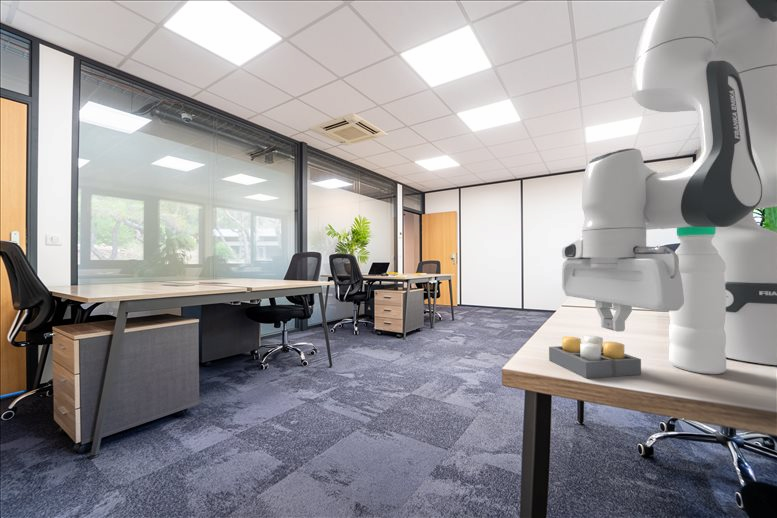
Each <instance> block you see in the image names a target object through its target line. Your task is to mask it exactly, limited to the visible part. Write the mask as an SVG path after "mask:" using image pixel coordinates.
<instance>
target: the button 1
mask: <svg viewBox="0 0 777 518" xmlns="http://www.w3.org/2000/svg"><path fill="white" fill-rule="evenodd" d="M561 343H562V344H561V346H562V350H563V351H566V352H568V353H579V352H580V344H581V343H582V339H581V338H579V337H574V336H562V337H561Z"/></svg>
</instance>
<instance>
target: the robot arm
mask: <svg viewBox="0 0 777 518" xmlns="http://www.w3.org/2000/svg"><path fill="white" fill-rule="evenodd" d="M643 26H644V27H643V29H642V32H641V34H640V37H639V41H638V44H637V48H636V52H635V56H634V62H633V68H632V74H631V80H630V88H631V95H632V97H633V99H634V101H635V102H636V103H637V104H638V105H640V106H641V107H643V108H645V109H648V110H650V111H654V112H659V113H660V112H661V113H677V112H690V111H691V112H693V111H694V112H696V113H697V120H698V131H699V140H700V151H701V153H700V156H699V157H698V158H697V159H696V160H695V161H694V162H693V163H691V164H689V165H685V166H683V167H677V168H674V169H669V170H665V171H662V172H661V171H660V172H658V171H655V170H653V169H651V168H650V167H648V166H647V165H646V164H645V163H644V159H643V155H642V151H641V150H640V149H638V148H625V149H623V148H622V149H619V150H616V151H611V152H610V151H609V152H607V153H604V154H602V155H600V156H597V157H595V158H592V159H591V160H590V161H589V162H588V163H587V165H586V167H585V170H584V174H583V180H582V189H581V190H582V191H581V193H582V195H581V207H582V211H583V214H584V223H583V225H582V229H581V237H580V238H578V239H576V240H575V241H572V243H570V244H567V245H565V246H564V247H563V248H562V249H561V257H562V258H563V259H565V260H564V261H563V263H562V267H561V286H562V287H561V289H562V291H563V293H564V294H565V296H566V297H572V298H578V299H585V300H589V301H595V302H594V304H595V305H594V306H595V309H596V311H597V313H598V315H599V317H600V318H601V320H600V326H601V328H603V329H606V330H610V331H613V332H624V331H625V330H626V321H627V319H628V318H629V316H630V315H631V313H632V312H633V311H632V310H633V308H638V309H645V310H650V311H655V312H669V311H677V310H679V309H680V308H681V307H682V306H683V304H684V292H683V284H682V278H681V274H680V270H679V257H678V255H677V254H676V253H675V251H674V250H673V249H670V248H669V247H668V246H666V245H656V246H647V230H668V229H677V228H681V227H716V232H715V235H714V236H715V237H713V238H712V240H711V242H712V245H713V246H714V247H715V248H716V249H717V251H718V255H720V256H721V257H722V259H723V260H724V262H725V265H726V269H725V272H724V279H725V290H726V314H725V324H724V330H725V334H726V345H725V355H726V359H727V358H728V359H732V360H737V361H742V362H750V363H754V364H755V363H756V364H762V365H771V366H777V231H774V230H771V229H768V228H764V227H762V226H761V225H759V224H758V222H757V221H756V220H755V218H754V212H753V211H754V210H759V209H767V208H775V207H777V0H663V1H662V2H660V3H659V4H658V5H656V7H655V8H654V9H653V10H652V11H651V13H650V14H649V16H648V17H647V19H646V20H645V23H644V25H643ZM611 309H612V310H613V311H615V313H614V315H613V314H612V311H611Z"/></svg>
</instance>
